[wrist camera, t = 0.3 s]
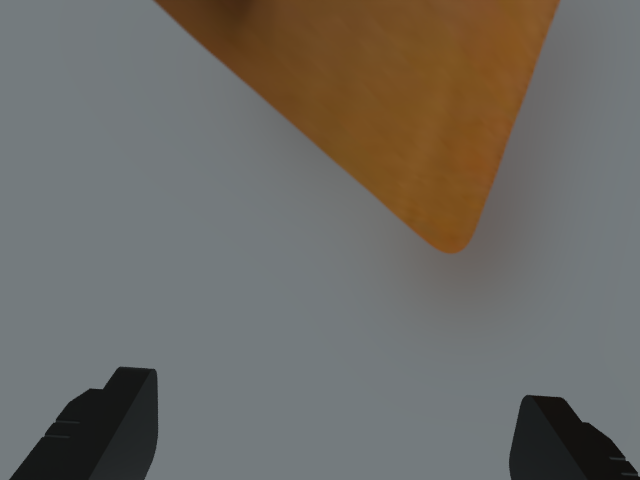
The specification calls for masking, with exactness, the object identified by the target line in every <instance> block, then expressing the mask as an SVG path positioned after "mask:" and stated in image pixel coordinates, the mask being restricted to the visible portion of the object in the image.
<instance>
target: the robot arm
mask: <svg viewBox="0 0 640 480" xmlns="http://www.w3.org/2000/svg"><path fill="white" fill-rule="evenodd" d="M157 438H158V390H157V372H156V370H155V369H147V368H133V367H119V368H118V369H117V370H116V371H115V373H114V374H113V375H112V377H111V378H110V380H109V381H108V383H107V384H106V385H105V387H104V388H103V389H89V390H87V391H86V392H84V393H83V394H81V395H80V396H78V397H77V398H75V399H73V400H72V401H70V402H69V403H68V404H67V406H66V407H65V408H64V410H63V411H62V412H61V413H60V415H59V416H58V417H57V419H56V422H55V423H53V424H52V425H51V426H50V428H49V429H48V430H47V432H46V433H45V436H44V437H42V438H41V439H40V441H39V442H38V443H37V445H36V446H35V447H34V448H33V450H32V451H31V452H30V454H29V455H28V456H27V458H26V459H25V460H24V461H23V463H22V464H21V465H20V466H19V468H18V469H17V470H16V472H15V473H14V474H13V476H12V477H11V478H10V479H9V480H144V479H145V477H146V474H147V472H148V470H149V467H150V465H151V463H152V461H153V457H154V454H155V450H156V445H157ZM509 468H510V476H511V480H640V477H638V472H637V471H636V470H635V469H634V467H633V466H632V465H631V464H630V462H629V461H626V460H625V456H624V455H623V454H622V453H621V451H620V450H619V449H618V448H617V446H616V445H615V444H614V443H613V441H612V440H611V439H610V438H608V437H607V436H606V435H604V434H603V433H602V432H600V431H599V430H598V429H596V428H595V427H594V426H592V425H591V424H589V423H586V422H582V421H581V420H580V419H579V418H578V416H577V415H576V413H575V412H574V411H573V410H572V408H571V407H570V406H569V404H568V403H567V402H566V401H565V400H564V399H563V398H561V397H548V396H534V395H526V396H525V397H524V398H523V399H522V402H521V405H520V409H519V414H518V419H517V423H516V428H515V433H514V437H513V442H512V447H511V451H510V458H509Z"/></svg>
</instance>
